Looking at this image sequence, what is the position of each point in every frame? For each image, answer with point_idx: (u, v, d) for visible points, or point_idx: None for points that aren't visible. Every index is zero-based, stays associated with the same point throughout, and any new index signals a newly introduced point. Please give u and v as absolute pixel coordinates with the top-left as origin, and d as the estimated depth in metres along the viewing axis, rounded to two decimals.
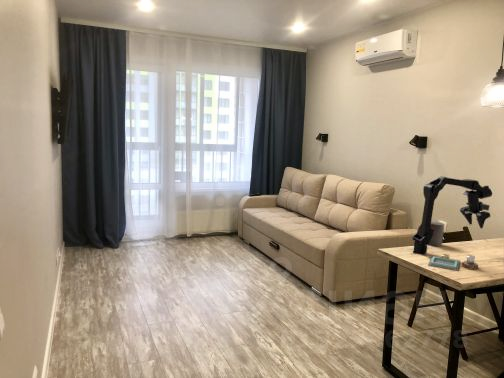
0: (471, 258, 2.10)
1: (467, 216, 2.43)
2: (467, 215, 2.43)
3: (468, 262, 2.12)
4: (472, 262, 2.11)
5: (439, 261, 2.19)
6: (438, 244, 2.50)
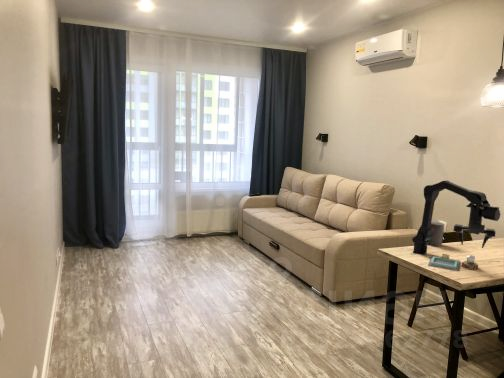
0: (471, 258, 2.10)
1: (484, 237, 2.09)
2: None
3: (468, 262, 2.12)
4: (472, 262, 2.11)
5: (439, 261, 2.19)
6: (438, 244, 2.50)
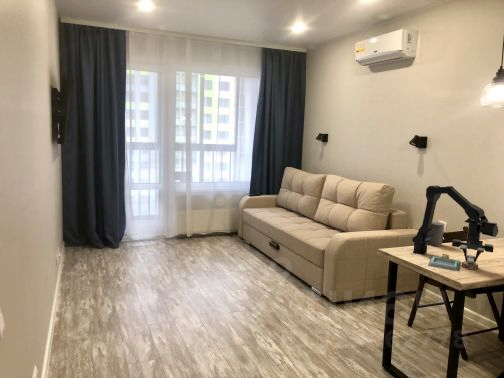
0: (471, 258, 2.10)
1: (476, 252, 2.12)
2: (477, 251, 2.12)
3: (468, 262, 2.12)
4: (472, 262, 2.11)
5: (439, 261, 2.19)
6: (438, 244, 2.50)
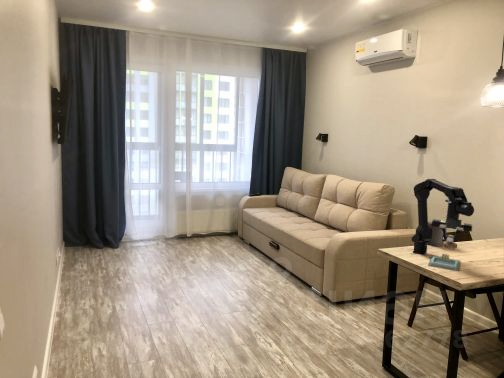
0: (450, 237, 2.11)
1: None
2: None
3: (447, 242, 2.13)
4: (451, 241, 2.12)
5: (439, 261, 2.19)
6: (438, 244, 2.50)
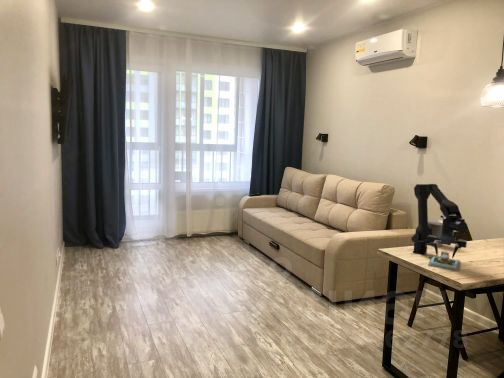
0: (445, 254, 2.13)
1: None
2: None
3: (442, 258, 2.14)
4: (446, 258, 2.13)
5: None
6: (438, 244, 2.50)
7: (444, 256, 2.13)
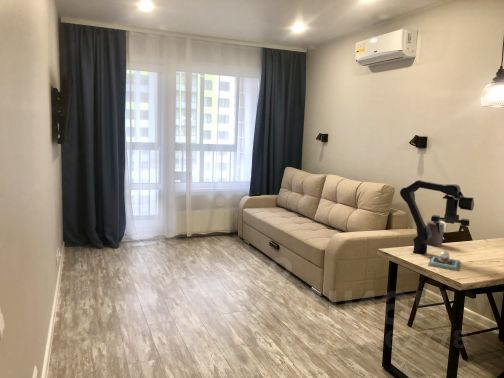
0: (445, 254, 2.13)
1: None
2: None
3: (442, 258, 2.14)
4: (446, 258, 2.13)
5: None
6: (438, 244, 2.50)
7: (444, 256, 2.13)
